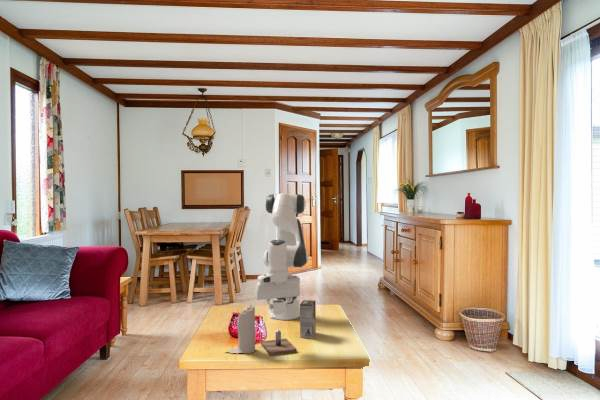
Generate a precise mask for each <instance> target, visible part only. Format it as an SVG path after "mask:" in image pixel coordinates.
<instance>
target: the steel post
mask: <svg viewBox="0 0 600 400" xmlns="http://www.w3.org/2000/svg"><path fill="white" fill-rule="evenodd" d="M281 339H282V332H281V330H279V329H278V330H276V331H275V340H276V346H281Z"/></svg>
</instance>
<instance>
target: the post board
mask: <svg viewBox="0 0 600 400" xmlns="http://www.w3.org/2000/svg"><path fill="white" fill-rule="evenodd" d="M260 345H261V347H262V348H263V350H265V352H266V353H267V354H268V355H269V357H272V356H279V355H287V354H294V353H297V351H298V350H297V348H296V347H295V346H294V345H293V344H292V342H291V341H289V340H288V338H281V346H276V339H270V340H262V341H260Z"/></svg>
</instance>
